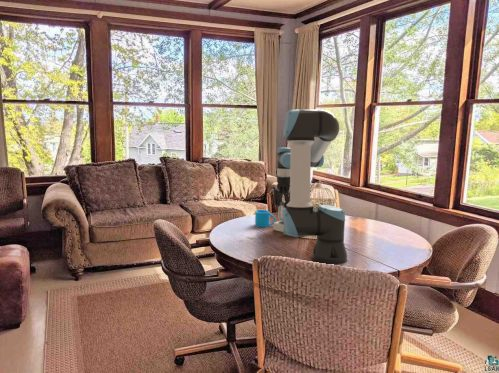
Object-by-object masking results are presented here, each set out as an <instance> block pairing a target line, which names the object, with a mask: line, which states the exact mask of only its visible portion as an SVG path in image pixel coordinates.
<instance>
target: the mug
mask: <svg viewBox="0 0 499 373" xmlns="http://www.w3.org/2000/svg"><path fill="white" fill-rule="evenodd" d="M254 214H255V219H254V220H255V221H254V222H255V224H254V225H255V227H257V226H258V227H257V228H267V227H269V226H272V225H274V223H275V222H276V217H275V215H274V214H272V213H270V211H269V210H267V209H257V210H255V213H254ZM270 216H271V217H272V218H273V222H272V223H270Z"/></svg>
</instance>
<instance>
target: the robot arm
mask: <svg viewBox="0 0 499 373" xmlns="http://www.w3.org/2000/svg"><path fill="white" fill-rule="evenodd" d="M283 122H284V123H283V130H282V131H283V132H282V134H283V137H284V138H286V142H287V143H288V144H289V146H290V147H282V146H281V147H278V148H277V157H276V158H277V166H276V175H277V177H276V184H277V185H276V186H273V187H272V190H273V200H274V205H276V206H277V207H276V208H277V210H276V211H277V212H278V214H277V216H278V217H277V218H278V219H280V201H283V197H284V201H285V207H284V210H283V223H284V228H285V231H286V233H287V235H286V236H289V237H293V236H297V237H296V238H299V237H298V236H300V237H316V242H315V244H314V247H313V250H312V254H311V256H312V260H315V261H316V262H319V263H323V264H327V265H328V264H330V265H331V264H333V265H334V264H335V265H337V264H338V265H339V264H342V263H346V262H347V261H348V253H347V249H346V246H345V243H344V241H345V226H346V225H345V222H346V213H345V211H344V209H342V208H341V207H338V206H333V205H330V204H329V205H328V204H318V206H317V208H314V204H313V202H311V168H321V167H323V166H324V162H325V156H324V154H325V153H326V151H327V149H328V148H329V145H330V144H331V142H333V141H334V140H335V139H337V137H338V136H339V132H340V122H339V121H338V119H337V117H336V116H335V115H334V114H333V113H332V112H330V111H328V110H326V109H305V108H304V109H303V108H302V109H301V108H298V109H289V110H288V111H287V112H286V114H285V118H284V121H283Z"/></svg>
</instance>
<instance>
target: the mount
mask: <svg viewBox="0 0 499 373" xmlns="http://www.w3.org/2000/svg"><path fill="white" fill-rule="evenodd" d="M273 230H274V231H277V232H281V233H283V230H284V224H280V220H279V221H275V223H274V224H273Z"/></svg>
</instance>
